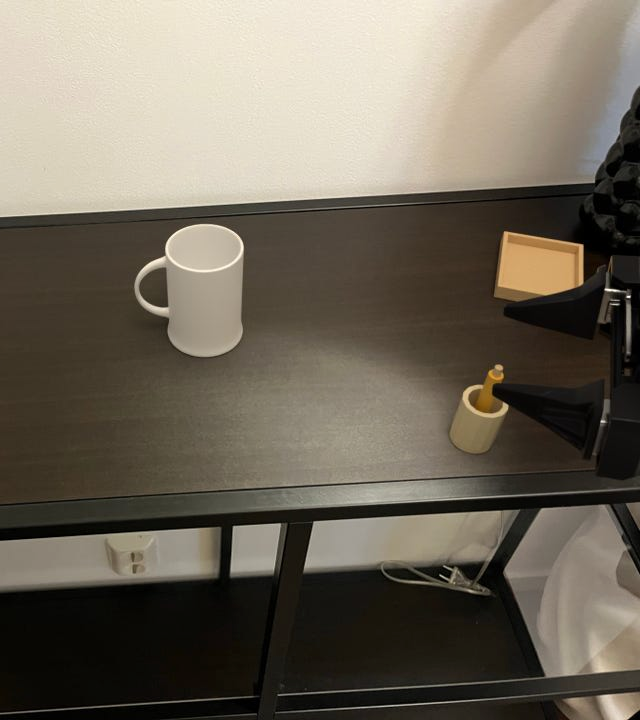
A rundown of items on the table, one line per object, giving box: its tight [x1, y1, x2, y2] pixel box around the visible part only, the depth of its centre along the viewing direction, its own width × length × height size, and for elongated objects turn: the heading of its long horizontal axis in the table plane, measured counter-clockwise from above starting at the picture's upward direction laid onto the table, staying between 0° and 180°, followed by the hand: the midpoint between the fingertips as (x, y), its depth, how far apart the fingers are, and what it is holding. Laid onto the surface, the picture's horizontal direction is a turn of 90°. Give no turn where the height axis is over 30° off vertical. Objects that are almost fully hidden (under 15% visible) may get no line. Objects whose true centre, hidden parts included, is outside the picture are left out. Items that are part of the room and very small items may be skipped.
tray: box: [493, 231, 584, 302], centre depth 88 cm, size 11×9×2 cm
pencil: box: [475, 364, 505, 413], centre depth 69 cm, size 1×1×10 cm
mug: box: [134, 223, 245, 358], centre depth 81 cm, size 12×8×12 cm
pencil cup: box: [448, 384, 510, 455], centre depth 71 cm, size 4×4×6 cm
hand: (498, 347), depth 59 cm, fingers open, 9 cm apart
